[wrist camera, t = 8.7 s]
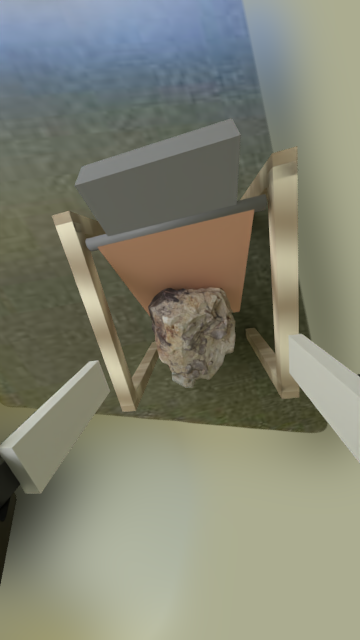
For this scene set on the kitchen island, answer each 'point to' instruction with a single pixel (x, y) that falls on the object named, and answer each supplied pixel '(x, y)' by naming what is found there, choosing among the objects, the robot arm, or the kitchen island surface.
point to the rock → (192, 331)
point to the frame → (283, 230)
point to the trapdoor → (174, 214)
